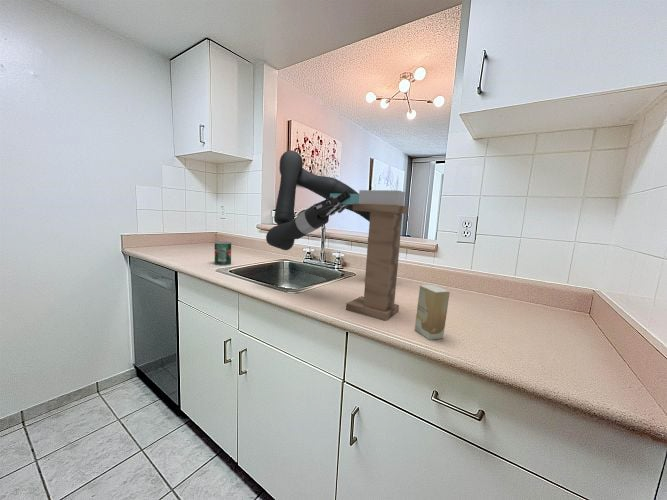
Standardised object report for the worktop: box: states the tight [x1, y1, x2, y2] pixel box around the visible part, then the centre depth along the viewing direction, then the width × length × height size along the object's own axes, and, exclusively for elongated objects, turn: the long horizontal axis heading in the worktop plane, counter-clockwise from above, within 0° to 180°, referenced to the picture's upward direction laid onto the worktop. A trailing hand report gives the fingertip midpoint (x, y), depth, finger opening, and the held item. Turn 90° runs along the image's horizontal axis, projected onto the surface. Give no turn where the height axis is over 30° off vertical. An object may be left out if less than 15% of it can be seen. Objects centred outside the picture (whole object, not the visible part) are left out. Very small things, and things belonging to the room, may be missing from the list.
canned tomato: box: [214, 241, 232, 266], centre depth 139 cm, size 8×8×11 cm
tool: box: [330, 189, 406, 206], centre depth 83 cm, size 23×5×4 cm, turn 57°
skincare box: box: [414, 284, 451, 341], centre depth 69 cm, size 6×4×12 cm
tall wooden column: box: [345, 204, 409, 322], centre depth 83 cm, size 10×13×32 cm
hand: (351, 194), depth 86 cm, fingers closed on tool, 3 cm apart
